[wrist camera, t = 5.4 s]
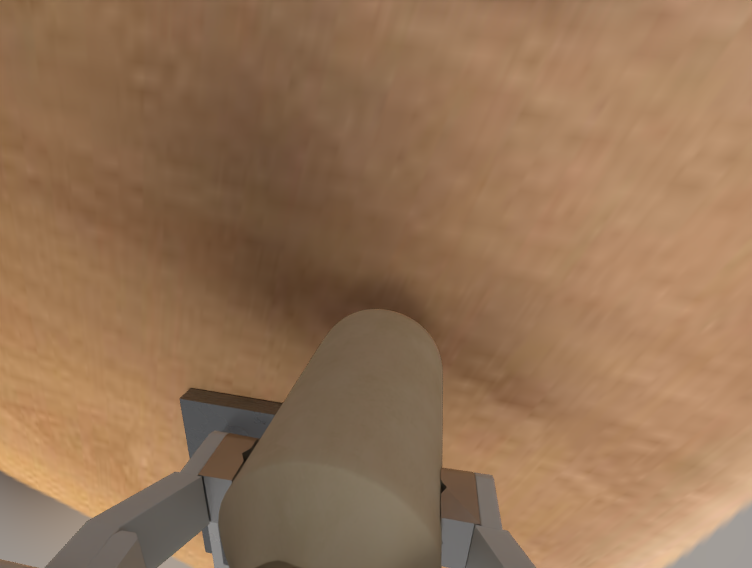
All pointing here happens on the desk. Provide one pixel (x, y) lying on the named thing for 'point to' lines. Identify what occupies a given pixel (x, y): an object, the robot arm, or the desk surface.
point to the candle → (347, 458)
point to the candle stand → (225, 416)
